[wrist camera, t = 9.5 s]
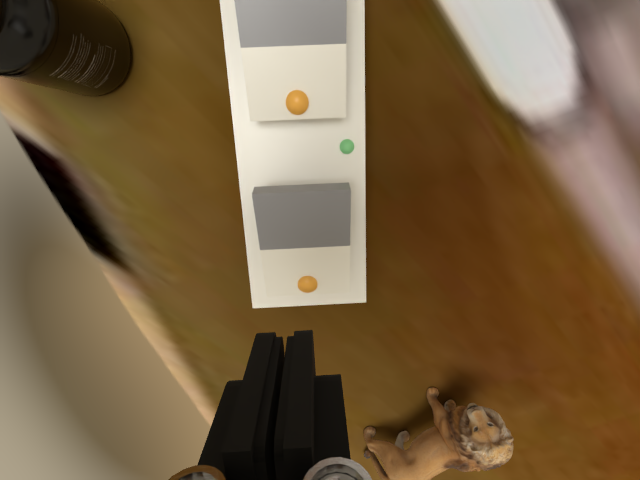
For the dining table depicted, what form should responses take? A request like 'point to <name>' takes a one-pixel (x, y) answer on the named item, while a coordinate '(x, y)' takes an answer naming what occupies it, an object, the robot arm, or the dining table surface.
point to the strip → (302, 156)
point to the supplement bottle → (63, 45)
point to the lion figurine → (444, 443)
